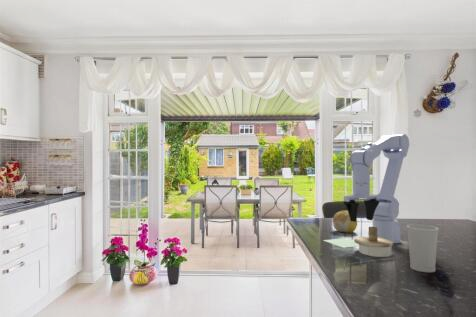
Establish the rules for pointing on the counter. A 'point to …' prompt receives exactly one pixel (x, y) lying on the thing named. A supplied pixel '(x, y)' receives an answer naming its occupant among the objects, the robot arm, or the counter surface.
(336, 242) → the mat
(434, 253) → the cup
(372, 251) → the bowl
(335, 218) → the fruit
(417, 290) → the counter surface
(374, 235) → the lid
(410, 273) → the counter surface
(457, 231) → the counter surface
